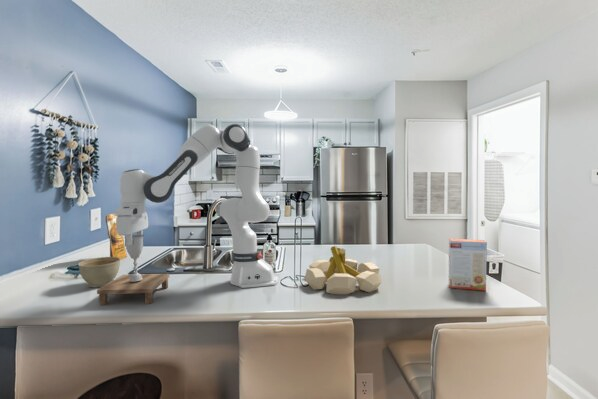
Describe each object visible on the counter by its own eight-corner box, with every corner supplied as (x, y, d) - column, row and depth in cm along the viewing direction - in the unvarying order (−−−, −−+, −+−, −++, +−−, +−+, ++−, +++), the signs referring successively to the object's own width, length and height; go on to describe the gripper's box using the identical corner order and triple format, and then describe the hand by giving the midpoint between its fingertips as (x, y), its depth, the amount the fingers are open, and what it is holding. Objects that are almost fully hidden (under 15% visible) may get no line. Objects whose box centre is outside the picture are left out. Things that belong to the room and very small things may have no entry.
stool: (169, 286, 142) (169, 273, 142) (151, 304, 122) (150, 288, 122) (123, 288, 141) (122, 274, 140) (97, 305, 121) (96, 290, 120)
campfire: (310, 271, 166) (310, 238, 165) (376, 273, 161) (377, 240, 160) (301, 295, 131) (301, 254, 130) (385, 298, 127) (386, 256, 126)
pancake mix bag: (102, 263, 184) (100, 215, 182) (119, 255, 203) (117, 211, 202) (115, 262, 185) (112, 214, 183) (130, 255, 204) (128, 211, 202)
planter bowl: (75, 284, 146) (74, 261, 145) (114, 277, 157) (113, 255, 157) (85, 293, 135) (83, 267, 134) (126, 284, 146) (125, 260, 146)
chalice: (149, 277, 134) (147, 234, 133) (139, 282, 127) (137, 237, 126) (132, 276, 135) (131, 234, 134) (122, 281, 128) (120, 237, 127)
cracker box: (483, 287, 139) (484, 239, 138) (486, 291, 133) (487, 242, 132) (447, 283, 143) (448, 237, 142) (449, 288, 138) (450, 240, 136)
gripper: (136, 207, 139) (138, 238, 140) (112, 211, 119) (113, 248, 120) (151, 207, 140) (152, 238, 141) (129, 211, 119) (131, 247, 120)
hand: (134, 242), depth 130 cm, fingers closed on chalice, 6 cm apart
